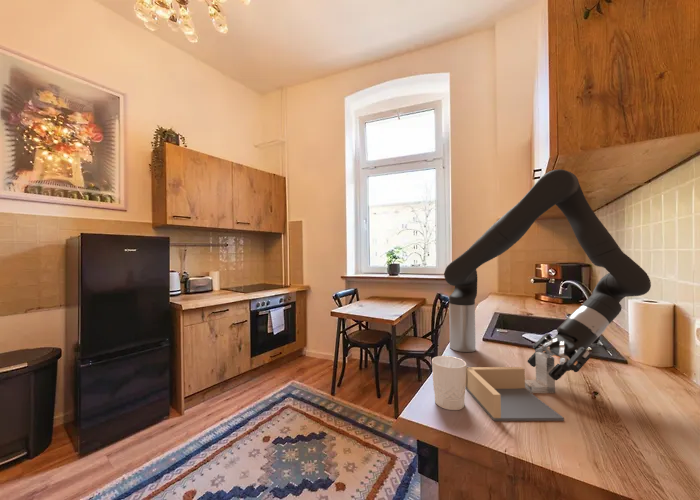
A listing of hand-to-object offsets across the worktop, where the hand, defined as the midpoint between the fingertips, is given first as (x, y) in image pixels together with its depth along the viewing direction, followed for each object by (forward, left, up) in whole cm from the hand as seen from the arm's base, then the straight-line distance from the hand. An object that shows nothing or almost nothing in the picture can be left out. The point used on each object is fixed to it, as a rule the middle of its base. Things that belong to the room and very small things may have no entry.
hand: (540, 370), depth 75 cm
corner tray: (+7, -12, -5) cm, 15 cm away
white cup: (+7, -27, -5) cm, 28 cm away
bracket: (0, -1, -5) cm, 5 cm away
